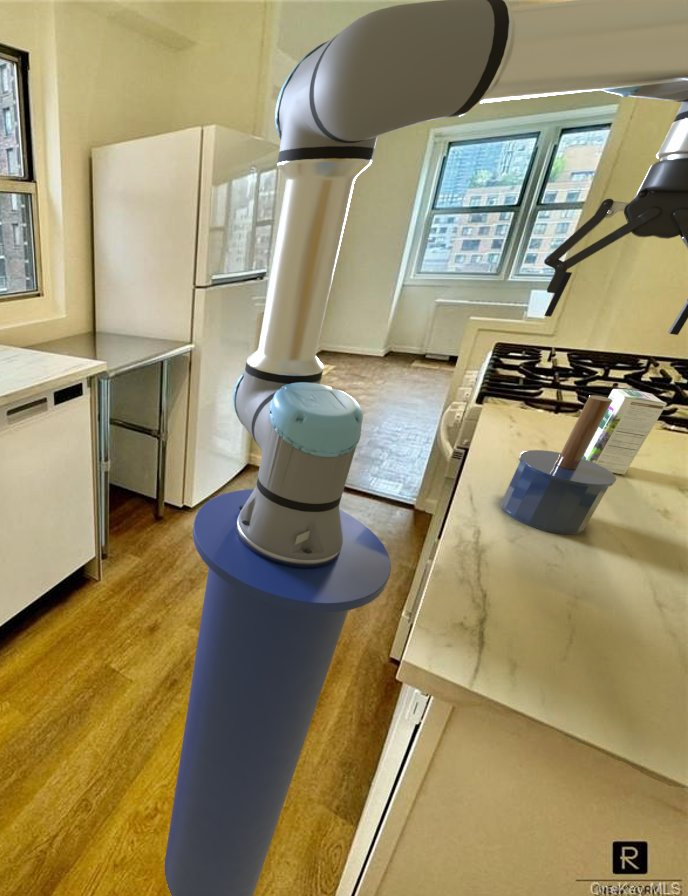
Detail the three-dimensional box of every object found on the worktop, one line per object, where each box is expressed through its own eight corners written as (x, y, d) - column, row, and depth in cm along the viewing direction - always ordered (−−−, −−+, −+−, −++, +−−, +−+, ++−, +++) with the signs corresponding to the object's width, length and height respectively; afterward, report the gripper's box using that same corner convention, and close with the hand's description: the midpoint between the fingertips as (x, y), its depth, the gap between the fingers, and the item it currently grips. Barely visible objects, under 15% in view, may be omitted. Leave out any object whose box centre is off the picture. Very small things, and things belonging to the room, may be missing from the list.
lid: (511, 471, 74) (546, 397, 68) (522, 449, 81) (553, 380, 75) (611, 499, 67) (658, 419, 61) (613, 472, 74) (655, 398, 68)
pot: (495, 514, 77) (516, 468, 74) (505, 491, 84) (526, 448, 80) (581, 543, 71) (609, 494, 67) (585, 515, 77) (611, 469, 74)
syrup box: (574, 456, 96) (610, 387, 89) (614, 463, 94) (653, 392, 87) (584, 468, 91) (623, 396, 85) (626, 475, 89) (669, 402, 82)
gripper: (568, 156, 68) (500, 310, 77) (867, 152, 53) (740, 344, 62) (569, 165, 73) (506, 308, 82) (843, 164, 58) (729, 340, 67)
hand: (606, 324), depth 72 cm, fingers open, 13 cm apart
